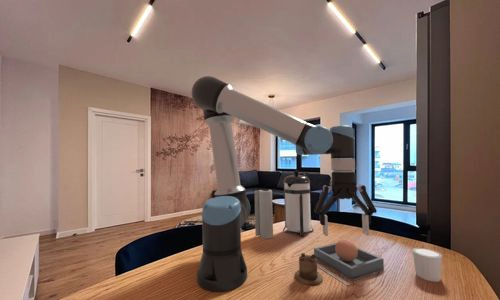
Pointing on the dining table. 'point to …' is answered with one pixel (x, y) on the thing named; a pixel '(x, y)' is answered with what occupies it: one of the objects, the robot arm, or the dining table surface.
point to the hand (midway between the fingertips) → (345, 234)
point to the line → (333, 275)
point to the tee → (308, 271)
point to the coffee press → (297, 204)
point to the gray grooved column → (263, 214)
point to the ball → (346, 250)
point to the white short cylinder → (427, 264)
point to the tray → (353, 269)
